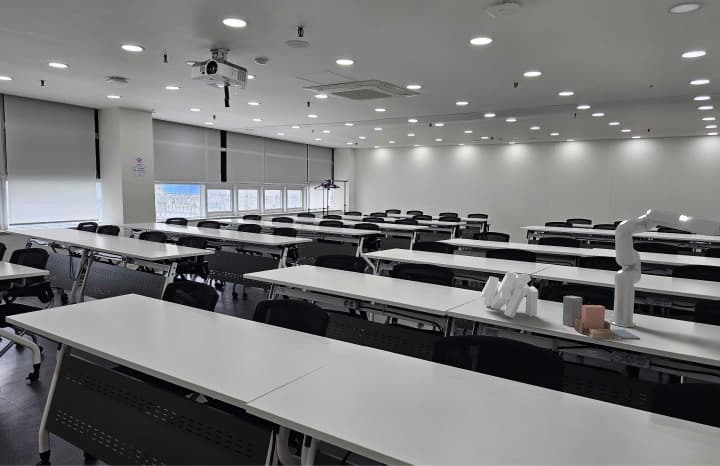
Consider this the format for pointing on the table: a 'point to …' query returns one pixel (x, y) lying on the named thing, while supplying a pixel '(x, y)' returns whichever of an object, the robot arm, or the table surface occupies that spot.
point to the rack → (580, 328)
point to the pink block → (593, 316)
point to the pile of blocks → (511, 293)
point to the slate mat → (623, 334)
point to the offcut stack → (600, 333)
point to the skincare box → (572, 310)
